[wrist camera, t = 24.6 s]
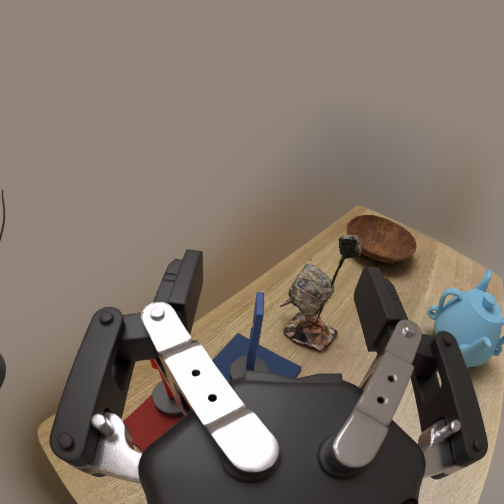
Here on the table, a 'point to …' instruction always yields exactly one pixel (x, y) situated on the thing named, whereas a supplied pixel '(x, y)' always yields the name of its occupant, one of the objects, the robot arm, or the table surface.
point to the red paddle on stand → (165, 397)
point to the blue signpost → (251, 345)
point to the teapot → (471, 322)
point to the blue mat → (272, 360)
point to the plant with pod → (316, 299)
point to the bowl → (382, 238)
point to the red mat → (148, 424)
